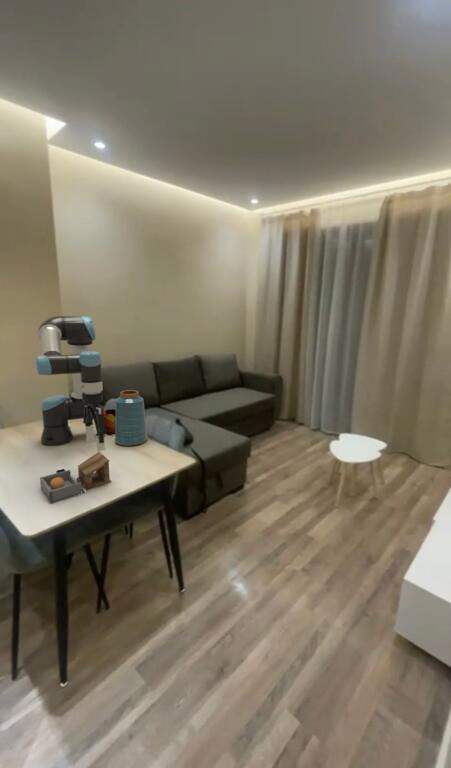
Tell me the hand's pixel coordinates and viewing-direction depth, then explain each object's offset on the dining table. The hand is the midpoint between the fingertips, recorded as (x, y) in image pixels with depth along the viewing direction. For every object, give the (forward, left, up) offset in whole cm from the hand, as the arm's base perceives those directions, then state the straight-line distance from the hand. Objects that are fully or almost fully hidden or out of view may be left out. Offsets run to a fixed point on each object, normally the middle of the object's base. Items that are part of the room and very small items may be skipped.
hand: (95, 445), depth 137 cm
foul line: (0, -8, -15) cm, 17 cm away
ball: (0, -15, -12) cm, 19 cm away
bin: (0, -14, -15) cm, 21 cm away
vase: (-31, +30, -15) cm, 45 cm away
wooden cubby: (0, -2, -15) cm, 15 cm away
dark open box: (-12, -10, -15) cm, 22 cm away
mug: (-50, +29, -15) cm, 59 cm away
